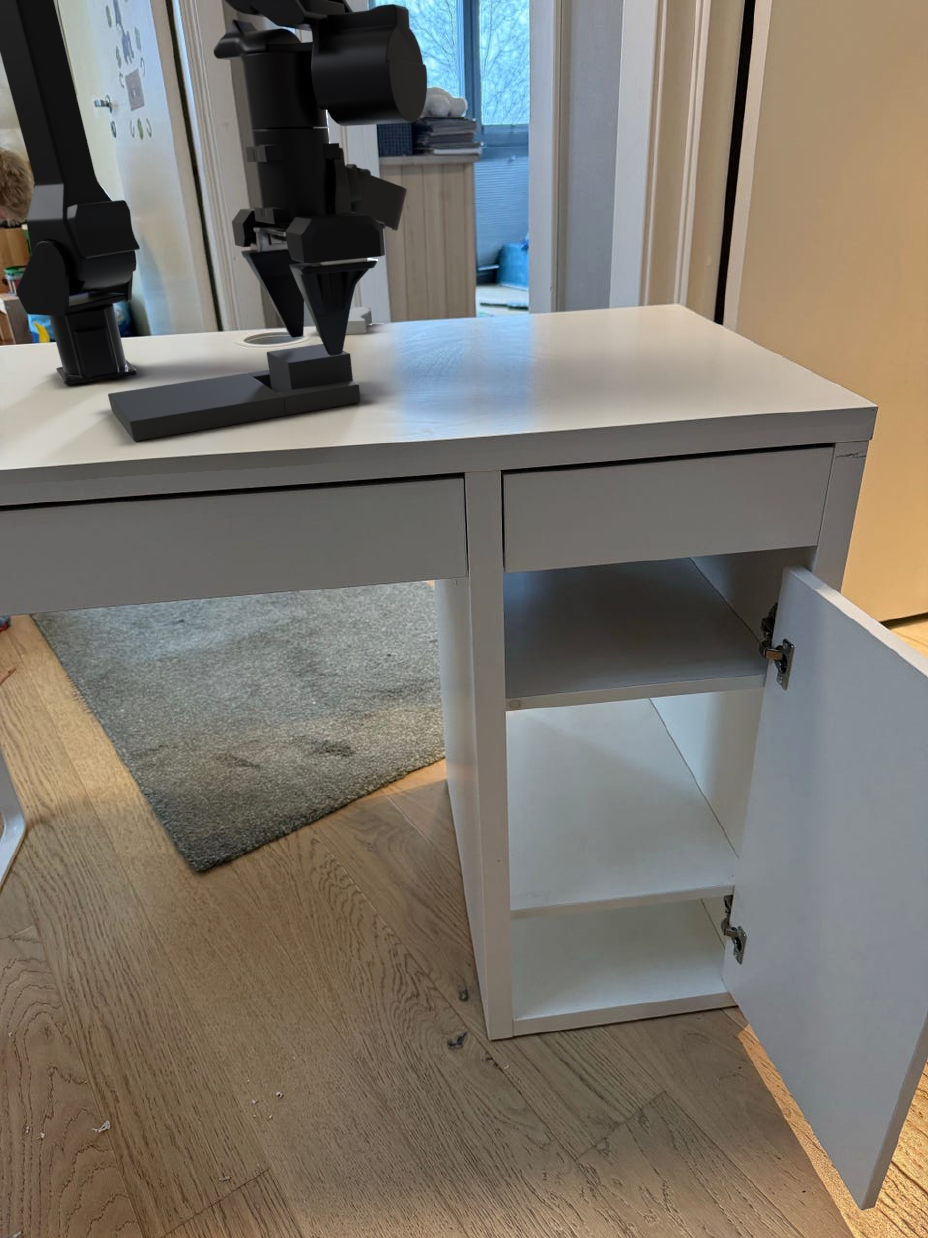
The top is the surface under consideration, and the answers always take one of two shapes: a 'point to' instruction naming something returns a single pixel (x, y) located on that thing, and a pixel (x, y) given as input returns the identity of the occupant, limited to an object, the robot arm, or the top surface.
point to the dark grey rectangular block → (307, 367)
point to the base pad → (219, 403)
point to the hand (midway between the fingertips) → (315, 345)
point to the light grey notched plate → (358, 320)
